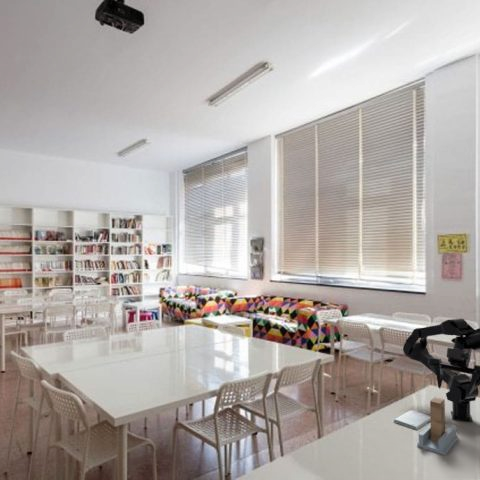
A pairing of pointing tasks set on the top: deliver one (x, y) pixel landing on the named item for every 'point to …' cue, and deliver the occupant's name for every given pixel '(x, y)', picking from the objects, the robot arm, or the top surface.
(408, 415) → the hard drive
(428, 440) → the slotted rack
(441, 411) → the brown wooden block
